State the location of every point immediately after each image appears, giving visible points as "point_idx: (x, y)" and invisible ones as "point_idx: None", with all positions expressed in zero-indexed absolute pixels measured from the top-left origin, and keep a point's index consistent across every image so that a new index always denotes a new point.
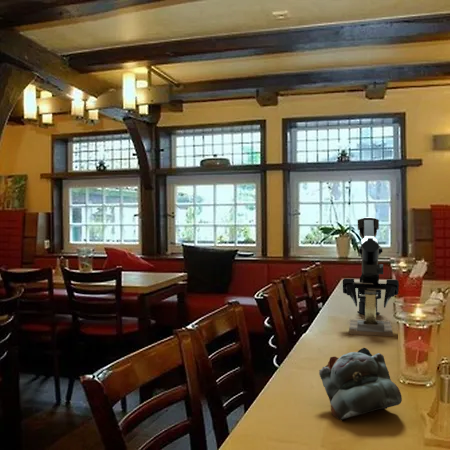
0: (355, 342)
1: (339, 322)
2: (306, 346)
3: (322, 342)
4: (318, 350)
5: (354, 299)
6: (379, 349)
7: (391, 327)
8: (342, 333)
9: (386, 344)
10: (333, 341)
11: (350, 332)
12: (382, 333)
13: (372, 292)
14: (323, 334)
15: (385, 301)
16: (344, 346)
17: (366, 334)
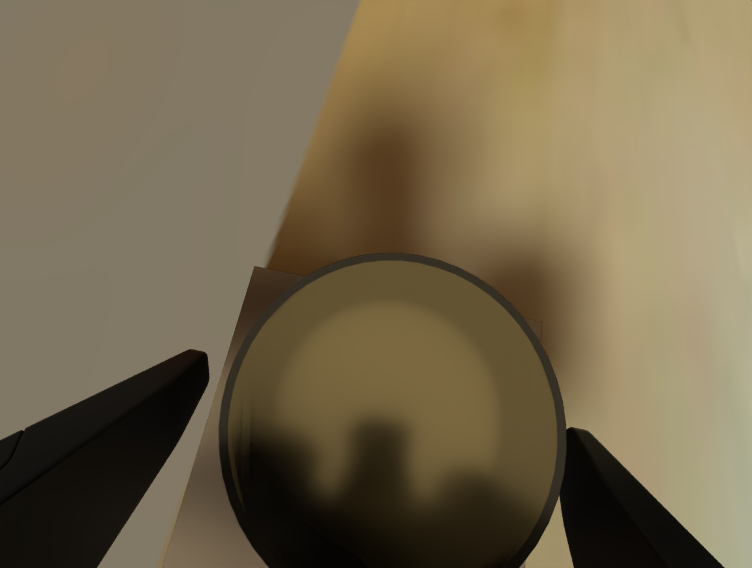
0: (508, 132)
1: None
2: (746, 62)
3: (680, 129)
4: (681, 7)
5: (659, 503)
6: (411, 23)
7: (195, 460)
8: (575, 344)
9: (355, 99)
10: (624, 149)
11: (527, 320)
12: None
13: (370, 266)
14: (697, 311)
15: (142, 383)
16: (567, 64)
17: None
